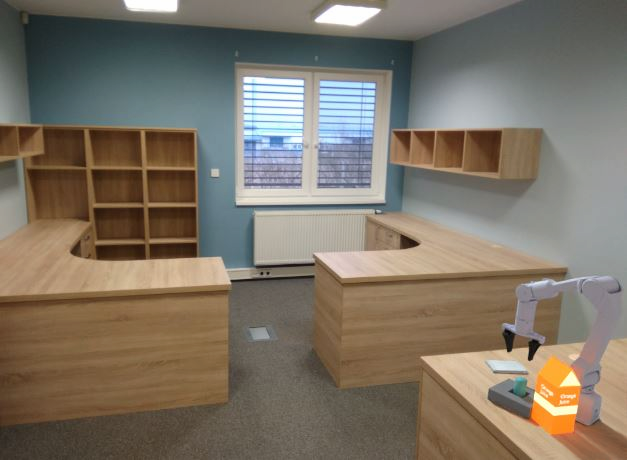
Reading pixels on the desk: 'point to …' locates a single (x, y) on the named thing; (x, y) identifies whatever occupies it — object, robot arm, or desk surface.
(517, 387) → the peg
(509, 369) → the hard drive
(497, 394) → the socket block
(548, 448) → the desk surface
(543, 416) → the orange juice
